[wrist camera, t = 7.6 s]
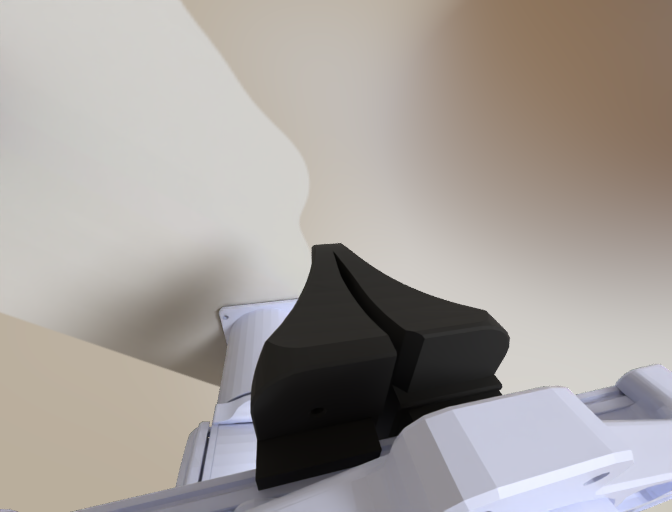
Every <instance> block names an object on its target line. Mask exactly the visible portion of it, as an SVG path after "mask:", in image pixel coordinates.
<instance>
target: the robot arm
mask: <svg viewBox="0 0 672 512" xmlns="http://www.w3.org/2000/svg"><path fill="white" fill-rule="evenodd" d="M225 315H227V317H225ZM219 316H220V319H221V323H222V327H223V331H224V335H225V339H226V343H227V351H226V357H225V363H224V368H223V374H222V379H221V385H220V391H219V397H218V402H217V404H216V406H215V411H214V417H213V423H212V427H209V424H210V422H201V423H200V424H199V426H198V428H196V429H194V430H193V431H192V432H191V433H190V435H189V437H188V440H187V444H186V447H185V451H184V454H183V459H182V462H181V466H180V471H179V474H178V479H177V483H176V487H175V488H171V489H167V490H163V491H158V492H154V493H149V494H145V495H141V496H136V497H132V498H128V499H123V500H120V501H115V502H111V503H107V504H102V505H98V506H93V507H89V508H85V509H81V510H76V511H72V512H640V511H643V510H645V509H648V508H650V507H653V506H655V505H658V504H660V503H663V502H665V501H668V500H670V499H672V372H671V371H670V370H668V369H667V368H665V367H664V366H662V365H661V364H654V365H649V366H645V367H640V368H636V369H633V370H630V371H629V372H627V373H625V374H624V375H623V376H622V377H621V378H620V379H619V380H618V381H617V382H616V385H615V386H611V387H606V388H602V389H598V390H593V391H589V392H585V393H581V394H576V395H575V394H573V392H571V391H570V390H569V389H568V388H567V387H562V386H543V387H538V388H534V389H529V390H525V391H520V392H515V393H511V394H506V395H502V394H501V393H500V391H499V390H501V388H502V384H501V383H500V381H499V380H498V379H497V378H496V376H495V375H494V374H495V372H496V370H497V369H498V367H499V365H500V364H501V362H502V360H503V359H504V357H505V355H506V353H507V351H508V348H509V340H510V337H509V335H508V333H507V331H506V330H505V329H504V328H503V327H502V326H501V325H500V324H499V323H498V322H497V321H496V320H495V319H494V318H493V317H492V316H491V315H490V314H488V312H487V311H485V310H481V309H477V308H473V307H469V306H465V305H460V304H457V303H453V302H450V301H447V300H444V299H440V298H437V297H434V296H431V295H429V294H426V293H423V292H421V291H418V290H416V289H414V288H411V287H409V286H407V285H404V284H402V283H400V282H398V281H397V280H395V279H393V278H391V277H389V276H387V275H385V274H384V273H382V272H381V271H379V270H377V269H376V268H374V267H373V266H371V265H369V264H368V263H367V262H365V261H364V260H363V259H361V258H360V257H358V256H357V255H356V254H355V253H353V252H352V251H351V250H349V249H348V248H347V247H345V246H344V245H343V244H341V243H338V244H322V245H314V246H313V247H312V265H311V269H310V273H309V276H308V279H307V282H306V284H305V286H304V289H303V291H302V293H301V295H300V297H299V298H298V299H293V300H283V301H274V302H265V303H256V304H247V305H238V306H228V307H222V308H221V309H220V311H219ZM208 437H210V438H208ZM0 512H17V511H14V510H10V509H0Z"/></svg>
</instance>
